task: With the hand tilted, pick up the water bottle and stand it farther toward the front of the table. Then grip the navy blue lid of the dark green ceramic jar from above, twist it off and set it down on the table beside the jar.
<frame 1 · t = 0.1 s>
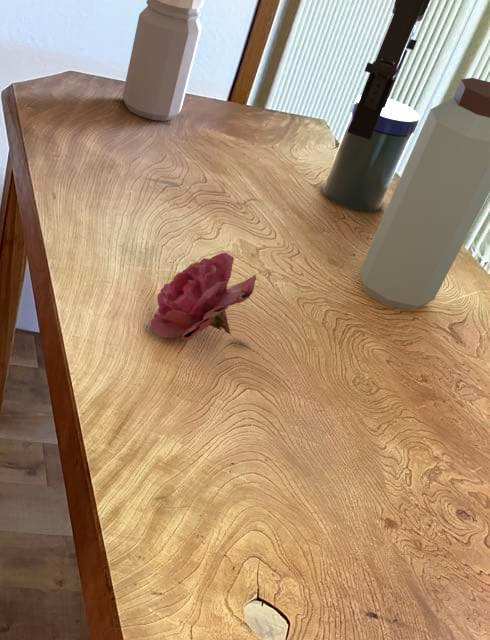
hand: (366, 119, 107), 17 cm above the table, tool pointing down, fingers open, 13 cm apart
water bottle: (391, 294, 115), on the table
spice jar: (351, 197, 135), on the table
jar: (150, 111, 145), on the table
lid: (386, 110, 126), point 13 cm above the table, screwed on, not yet turned
flower: (189, 333, 99), on the table
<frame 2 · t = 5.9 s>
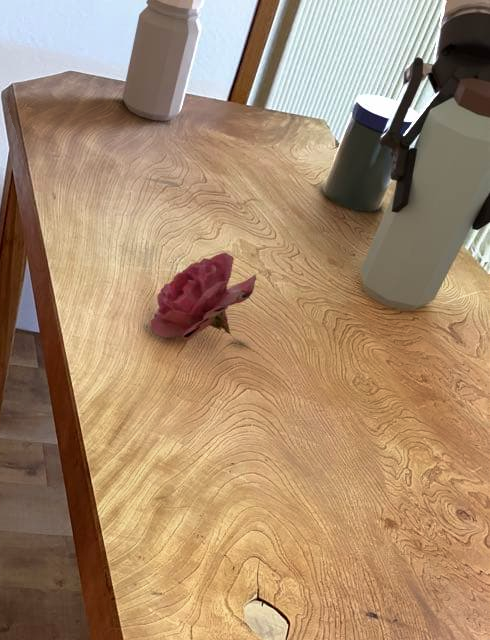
hand: (440, 216, 104), 12 cm above the table, tool tilted 45°, fingers closed on water bottle, 9 cm apart
water bottle: (391, 294, 115), on the table, touching gripper
everything else where it was.
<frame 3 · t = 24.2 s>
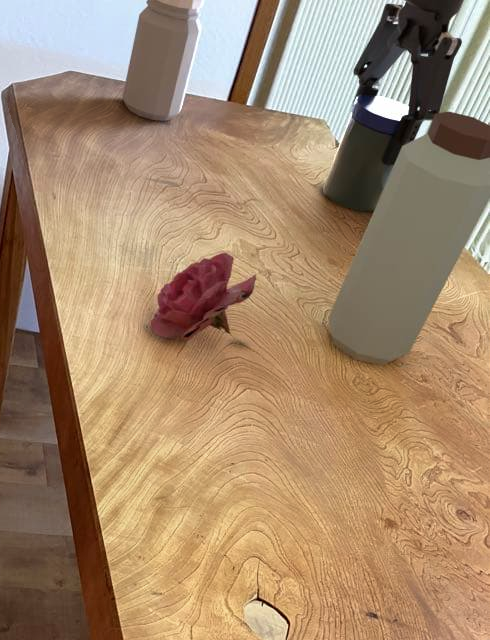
hand: (371, 148, 130), 7 cm above the table, tool pointing down, fingers closed on lid, 9 cm apart
water bottle: (363, 345, 104), on the table
lid: (386, 110, 126), point 13 cm above the table, screwed on, not yet turned, touching gripper
everything else where it was.
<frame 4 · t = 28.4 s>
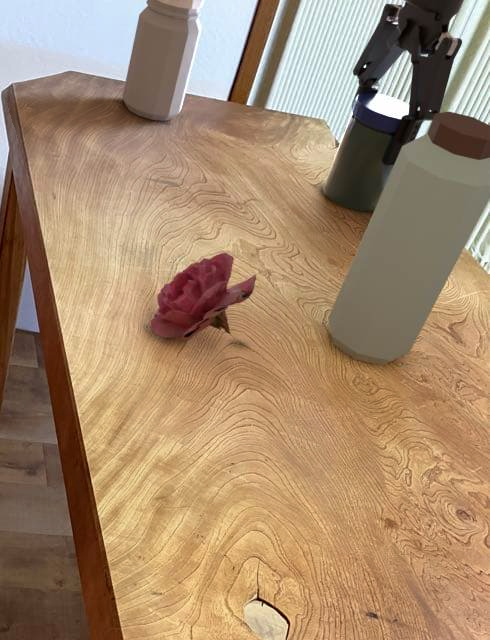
hand: (371, 148, 130), 7 cm above the table, tool pointing down, fingers closed on lid, 9 cm apart
lid: (387, 109, 126), point 13 cm above the table, turned 90° so far, risen 0.2 cm, still on its thread, touching gripper
everything else where it was.
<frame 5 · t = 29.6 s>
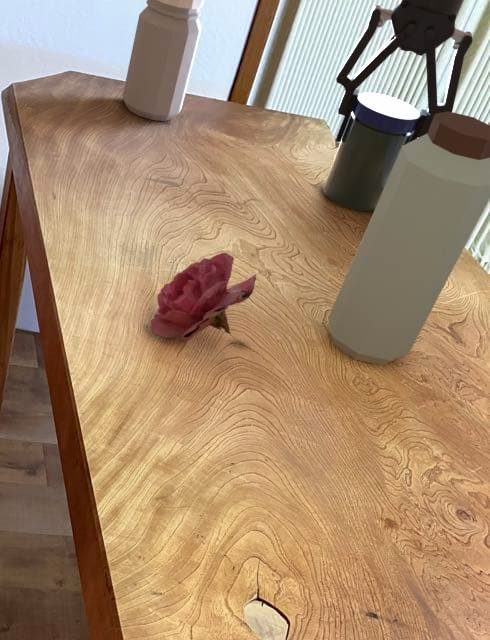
hand: (371, 148, 130), 7 cm above the table, tool pointing down, fingers closed on lid, 9 cm apart
lid: (387, 108, 126), point 13 cm above the table, off its thread, touching gripper
everything else where it was.
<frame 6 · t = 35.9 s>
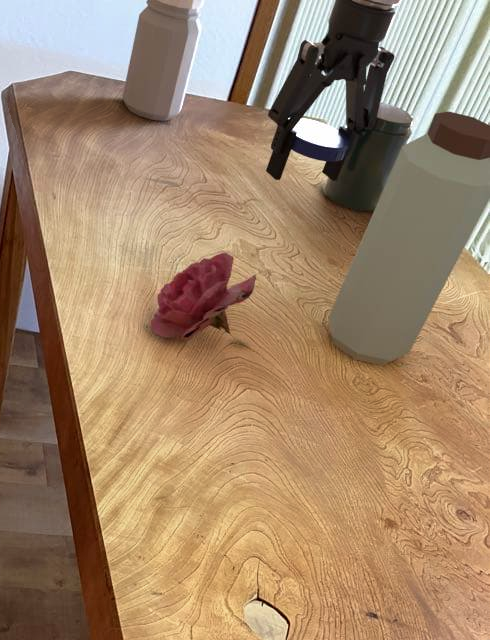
hand: (301, 175, 126), 4 cm above the table, tool pointing down, fingers closed on lid, 9 cm apart
spice jar: (351, 197, 135), on the table, touching gripper
lid: (316, 135, 122), point 10 cm above the table, off its thread, touching gripper
everything else where it was.
when the fingers open (4 cm above the table, at t = 36.7 s): lid drops 7 cm, point 1 cm above the table.
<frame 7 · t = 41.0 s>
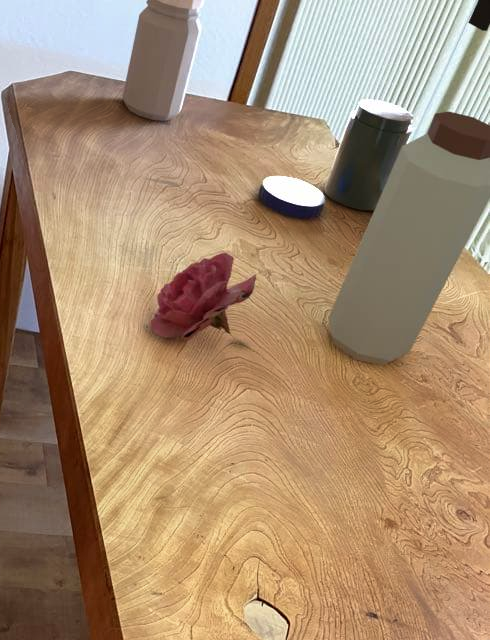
spice jar: (352, 197, 135), on the table
lid: (293, 193, 128), point 1 cm above the table, off its thread
everything else where it was.
at the end: lid came off its thread; lid point 1.5 cm above the table; water bottle inside the target area (0.0 cm from its centre), on the table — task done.
